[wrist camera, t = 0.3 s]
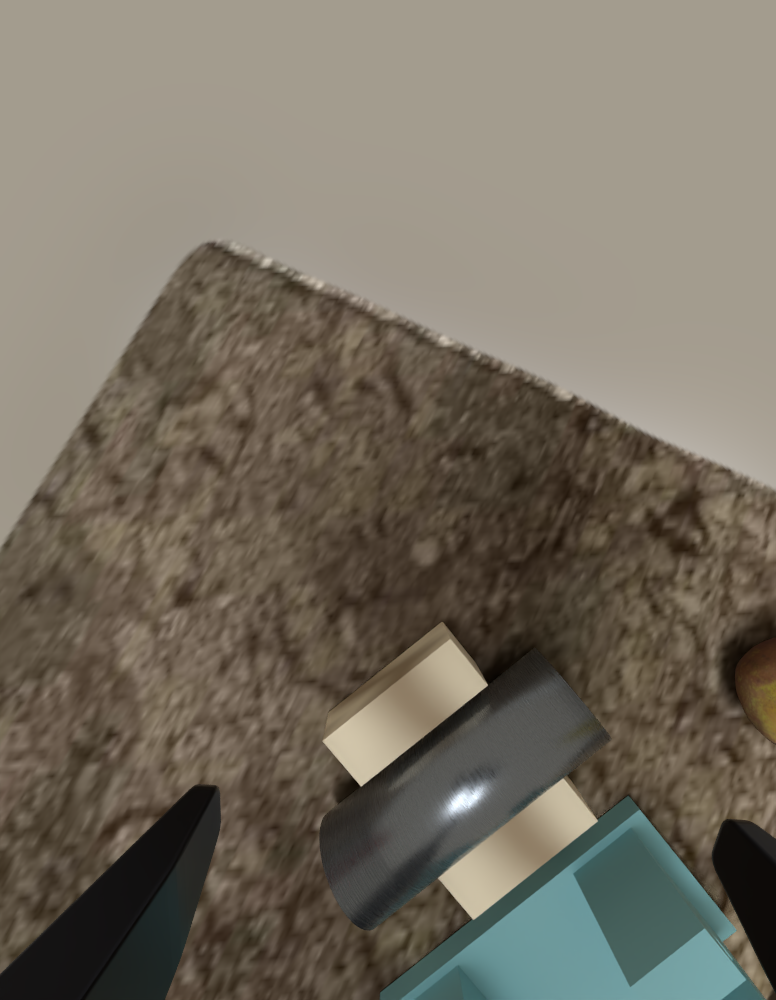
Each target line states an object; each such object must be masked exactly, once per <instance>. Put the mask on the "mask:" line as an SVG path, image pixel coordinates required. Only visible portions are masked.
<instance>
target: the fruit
mask: <svg viewBox="0 0 776 1000" xmlns="http://www.w3.org/2000/svg"><path fill="white" fill-rule="evenodd" d="M735 685H736V692H737V695H738V698H739V700H740V702H741V705H742V707H743V709H744V711H745V713H746V715H747V717H748V718H749V720H750V721H751V723H752V724H753V725H754V727H755V728H756V729H757V730H758V731H759V732H761V734H762V735H764V736H765V737H766V738H767V739H768V740H769V741H771V742H772V743H773V744H776V637H775V638H772V639H769V640H766V641H763V642H761V643H759V644H757V645H755V646H754V647H752V648H751V649H750V650H749V651H748V652H747V653H746V654H745V655H744V656H743V657H742V658H741V659H740V661H739V662H738V664H737V666H736V670H735Z"/></svg>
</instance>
